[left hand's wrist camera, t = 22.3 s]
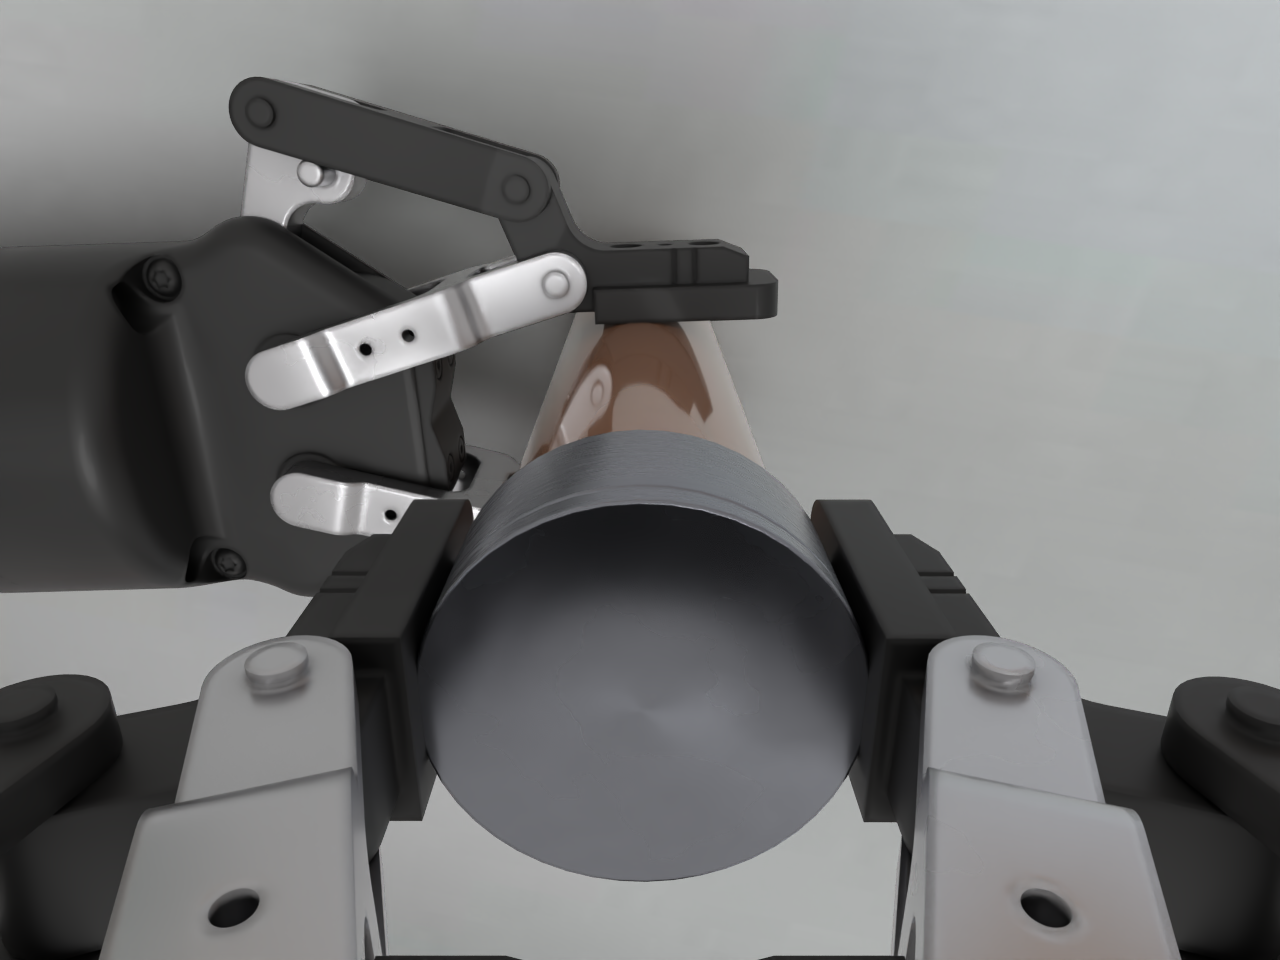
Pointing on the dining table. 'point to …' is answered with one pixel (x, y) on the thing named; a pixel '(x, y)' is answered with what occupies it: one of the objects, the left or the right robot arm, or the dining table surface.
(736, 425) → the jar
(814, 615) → the lid
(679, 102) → the dining table surface
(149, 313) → the right robot arm
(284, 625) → the dining table surface
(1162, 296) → the dining table surface
